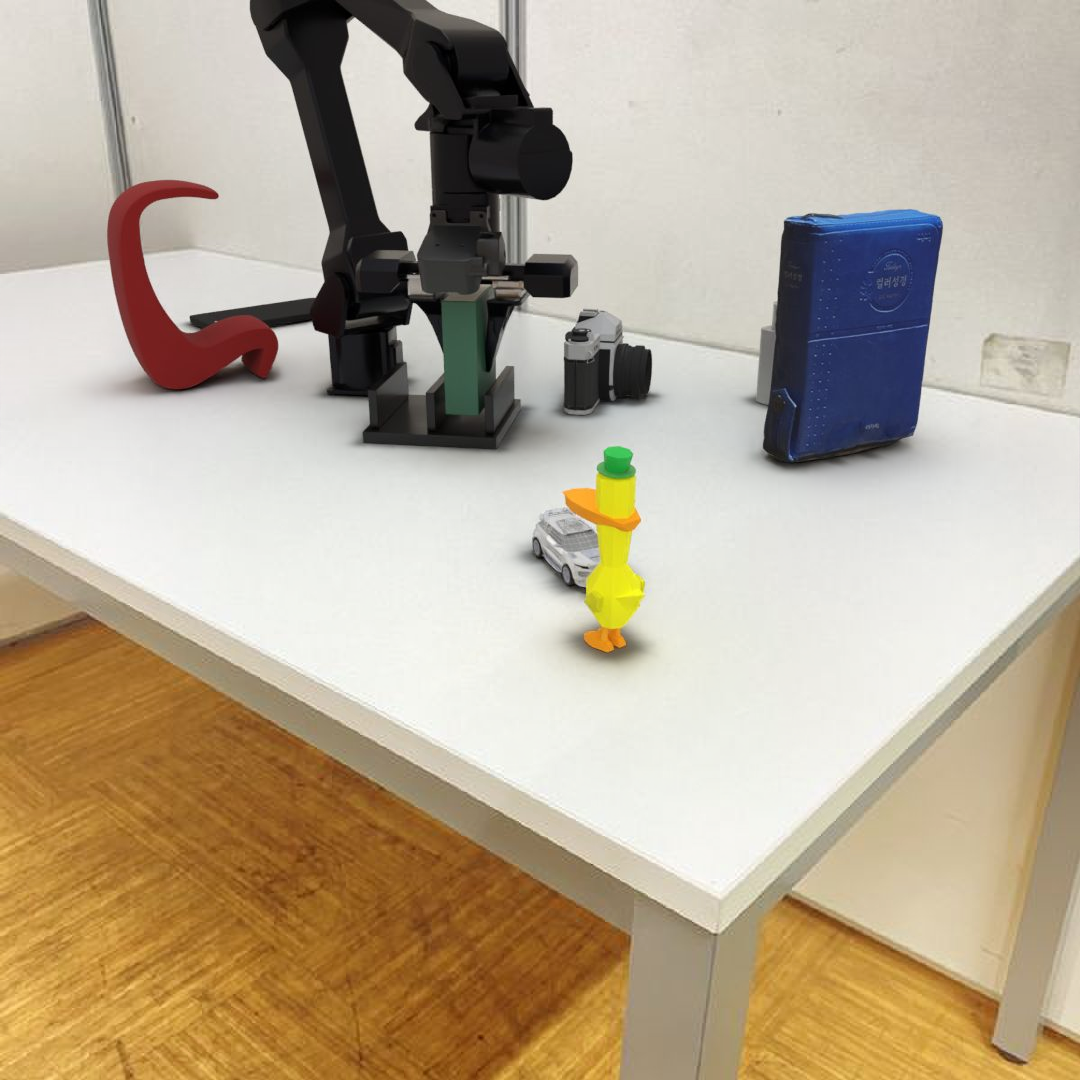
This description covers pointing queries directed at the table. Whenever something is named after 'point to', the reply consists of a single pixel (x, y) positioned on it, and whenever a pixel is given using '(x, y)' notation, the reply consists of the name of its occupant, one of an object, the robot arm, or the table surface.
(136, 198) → the chair
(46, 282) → the table surface
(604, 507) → the toy figure
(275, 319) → the cell phone
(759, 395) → the power adapter
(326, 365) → the table surface
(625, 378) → the camera
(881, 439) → the book
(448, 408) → the small book
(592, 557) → the toy car
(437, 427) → the book rack
